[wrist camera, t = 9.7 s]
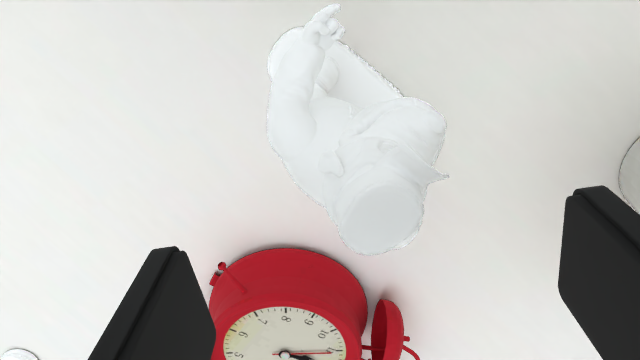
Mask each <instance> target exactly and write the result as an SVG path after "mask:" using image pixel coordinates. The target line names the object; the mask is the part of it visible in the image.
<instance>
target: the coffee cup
mask: <svg viewBox="0 0 640 360" xmlns="http://www.w3.org/2000/svg"><path fill="white" fill-rule="evenodd" d="M619 184H620V189H621V191H622V193H623V195H624V197H625V198H626V199H627V201H628V202H629V203H630V204H631V205H632V206H633V208H634V209H635V210H636V211H637V212H638V213H639V215H640V138H639V139H638V140H637V141H636V142H635V143H634V144H633V145H632V147H631V148H630V149H629V151H628V152H627V154H626V156H625V158H624V160H623V162H622V165H621V169H620V173H619Z"/></svg>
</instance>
